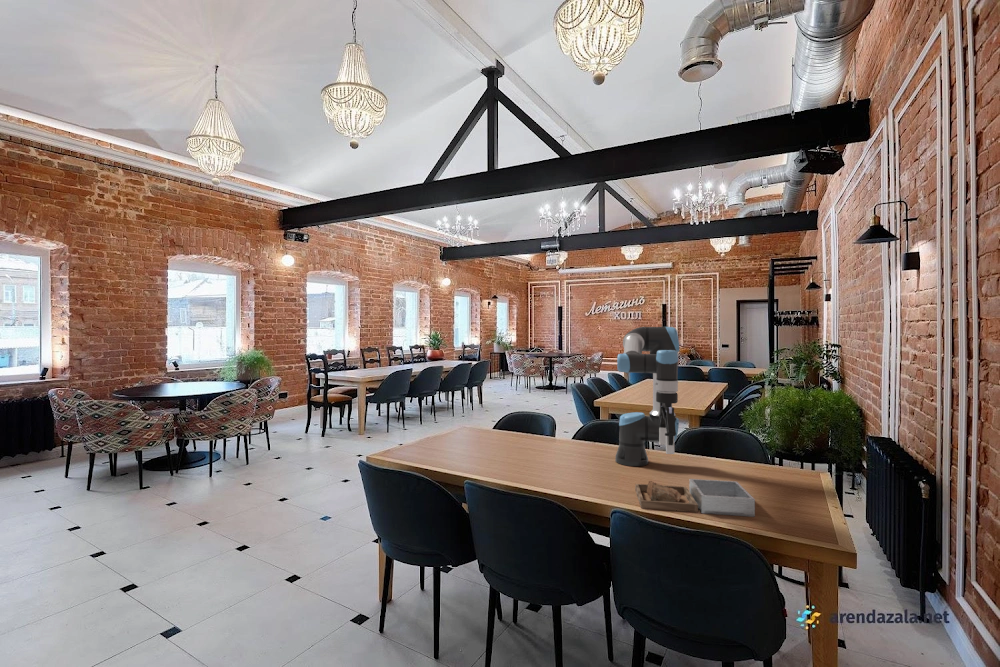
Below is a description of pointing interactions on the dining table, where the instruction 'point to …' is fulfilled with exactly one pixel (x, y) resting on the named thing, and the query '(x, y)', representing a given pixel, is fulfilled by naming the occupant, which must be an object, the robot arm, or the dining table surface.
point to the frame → (662, 505)
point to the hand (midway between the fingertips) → (666, 449)
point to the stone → (662, 493)
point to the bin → (722, 497)
